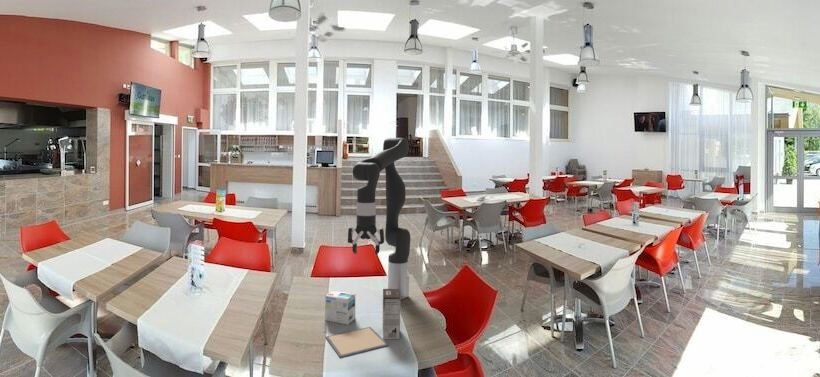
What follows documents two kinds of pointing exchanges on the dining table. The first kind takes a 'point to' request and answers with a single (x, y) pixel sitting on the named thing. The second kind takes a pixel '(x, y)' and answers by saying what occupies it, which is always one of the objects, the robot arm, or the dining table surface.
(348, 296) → the light bulb box
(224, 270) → the dining table surface
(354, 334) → the mat
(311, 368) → the dining table surface
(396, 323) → the coffee box
